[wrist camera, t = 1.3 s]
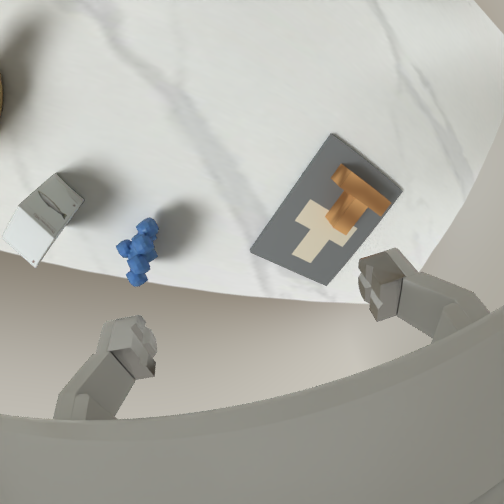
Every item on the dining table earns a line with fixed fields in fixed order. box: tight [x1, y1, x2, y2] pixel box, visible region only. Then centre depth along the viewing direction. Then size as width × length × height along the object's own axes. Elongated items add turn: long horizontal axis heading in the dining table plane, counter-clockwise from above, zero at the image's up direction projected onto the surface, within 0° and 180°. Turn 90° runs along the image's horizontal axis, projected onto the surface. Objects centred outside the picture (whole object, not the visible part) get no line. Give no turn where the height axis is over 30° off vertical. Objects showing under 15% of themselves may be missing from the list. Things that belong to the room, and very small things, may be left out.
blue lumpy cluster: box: [116, 218, 159, 286], centre depth 43 cm, size 12×7×12 cm, turn 159°
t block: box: [325, 164, 391, 235], centre depth 47 cm, size 9×10×4 cm
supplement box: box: [2, 173, 84, 268], centre depth 37 cm, size 7×7×13 cm
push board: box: [250, 134, 403, 286], centre depth 51 cm, size 24×18×1 cm
